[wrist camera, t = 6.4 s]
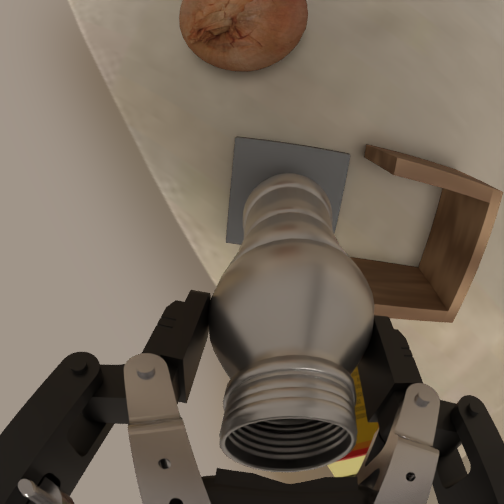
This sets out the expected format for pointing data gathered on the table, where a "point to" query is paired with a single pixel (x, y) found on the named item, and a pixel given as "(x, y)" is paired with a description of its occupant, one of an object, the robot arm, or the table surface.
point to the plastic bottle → (290, 332)
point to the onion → (242, 31)
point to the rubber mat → (279, 162)
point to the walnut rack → (434, 243)
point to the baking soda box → (365, 434)
